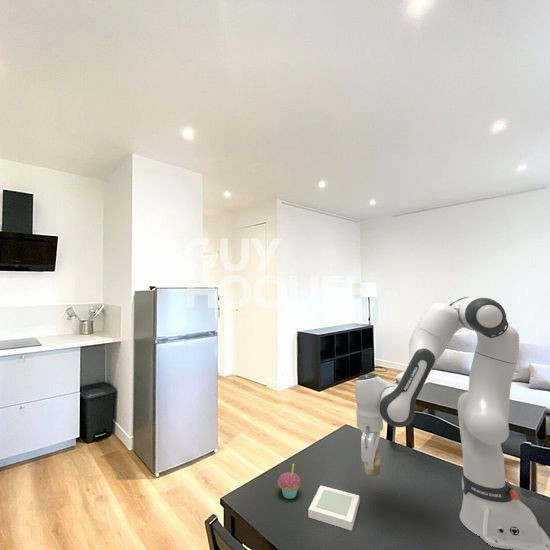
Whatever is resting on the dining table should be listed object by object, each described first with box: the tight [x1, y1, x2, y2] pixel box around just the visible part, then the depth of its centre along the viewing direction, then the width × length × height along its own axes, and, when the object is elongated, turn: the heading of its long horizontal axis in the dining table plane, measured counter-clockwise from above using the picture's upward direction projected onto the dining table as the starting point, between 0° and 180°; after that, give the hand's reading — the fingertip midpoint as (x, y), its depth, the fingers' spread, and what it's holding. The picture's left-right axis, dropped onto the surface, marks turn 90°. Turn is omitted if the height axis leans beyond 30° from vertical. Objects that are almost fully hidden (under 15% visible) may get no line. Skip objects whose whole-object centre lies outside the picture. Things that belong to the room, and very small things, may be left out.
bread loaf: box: [363, 448, 382, 477], centre depth 106 cm, size 5×5×7 cm
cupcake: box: [277, 462, 302, 500], centre depth 111 cm, size 9×8×12 cm
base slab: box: [307, 484, 360, 531], centre depth 103 cm, size 14×14×3 cm
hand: (372, 463), depth 105 cm, fingers closed on bread loaf, 5 cm apart
